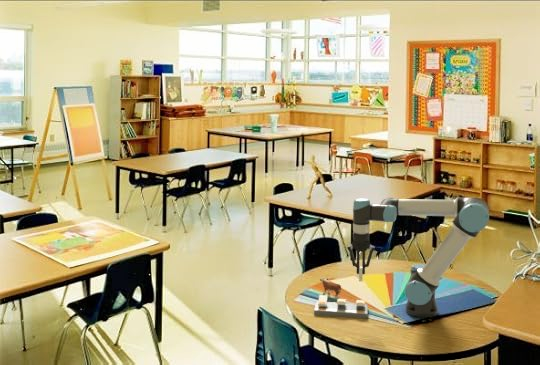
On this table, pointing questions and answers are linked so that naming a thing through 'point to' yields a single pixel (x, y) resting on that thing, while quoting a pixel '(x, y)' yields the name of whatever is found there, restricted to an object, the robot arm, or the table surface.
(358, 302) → the switch
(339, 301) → the switch middle
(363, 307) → the switch panel
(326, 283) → the bull figurine
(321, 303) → the switch
